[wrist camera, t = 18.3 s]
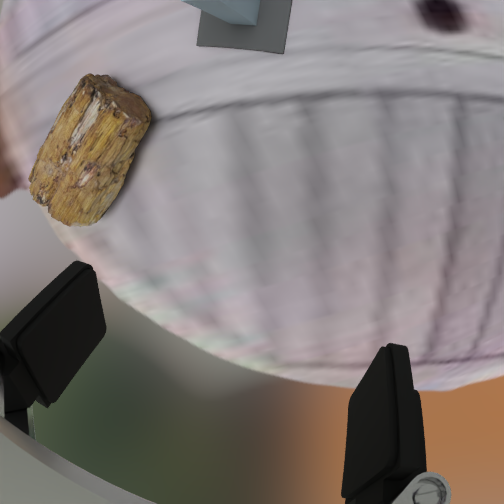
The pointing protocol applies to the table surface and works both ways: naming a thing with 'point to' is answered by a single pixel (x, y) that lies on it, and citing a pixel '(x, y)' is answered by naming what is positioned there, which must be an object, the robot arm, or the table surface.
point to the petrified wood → (88, 151)
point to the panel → (230, 10)
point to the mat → (249, 29)
